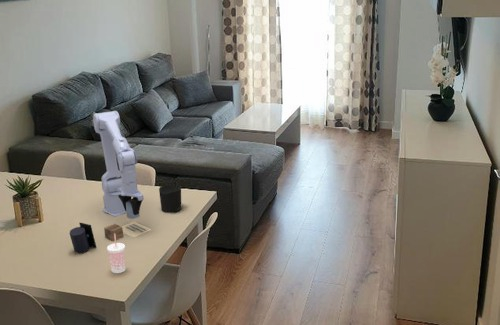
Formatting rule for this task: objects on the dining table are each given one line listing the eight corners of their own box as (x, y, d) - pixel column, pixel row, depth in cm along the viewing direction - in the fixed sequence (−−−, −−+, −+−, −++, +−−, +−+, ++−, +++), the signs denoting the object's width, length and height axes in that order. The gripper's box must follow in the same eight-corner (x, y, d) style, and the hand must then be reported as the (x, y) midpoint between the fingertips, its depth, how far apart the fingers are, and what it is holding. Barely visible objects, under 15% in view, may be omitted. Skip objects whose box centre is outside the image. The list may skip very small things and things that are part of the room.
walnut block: (105, 238, 216) (104, 227, 215) (115, 233, 220) (114, 223, 218) (112, 242, 213) (111, 231, 212) (123, 237, 217) (122, 227, 215)
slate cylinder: (124, 216, 221) (123, 202, 219) (134, 212, 224) (133, 198, 223) (132, 219, 218) (131, 205, 216) (142, 215, 222) (141, 201, 220)
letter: (115, 229, 224) (115, 228, 224) (134, 221, 230) (133, 221, 230) (133, 237, 216) (133, 237, 216) (151, 230, 222) (151, 229, 222)
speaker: (89, 242, 212) (84, 219, 208) (96, 248, 208) (92, 224, 204) (71, 250, 208) (65, 227, 203) (78, 256, 204) (73, 233, 199)
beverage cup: (126, 273, 190) (122, 237, 185) (108, 274, 190) (104, 238, 185) (128, 264, 196) (124, 229, 191) (111, 265, 195) (107, 230, 191)
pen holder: (164, 215, 236) (162, 193, 232) (158, 207, 244) (156, 186, 240) (185, 211, 239) (183, 190, 236) (178, 203, 247) (177, 182, 244)
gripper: (109, 179, 218) (113, 210, 222) (131, 187, 209) (134, 220, 213) (124, 174, 223) (127, 205, 227) (146, 182, 213) (149, 214, 218)
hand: (132, 212), depth 220 cm, fingers closed on slate cylinder, 5 cm apart
